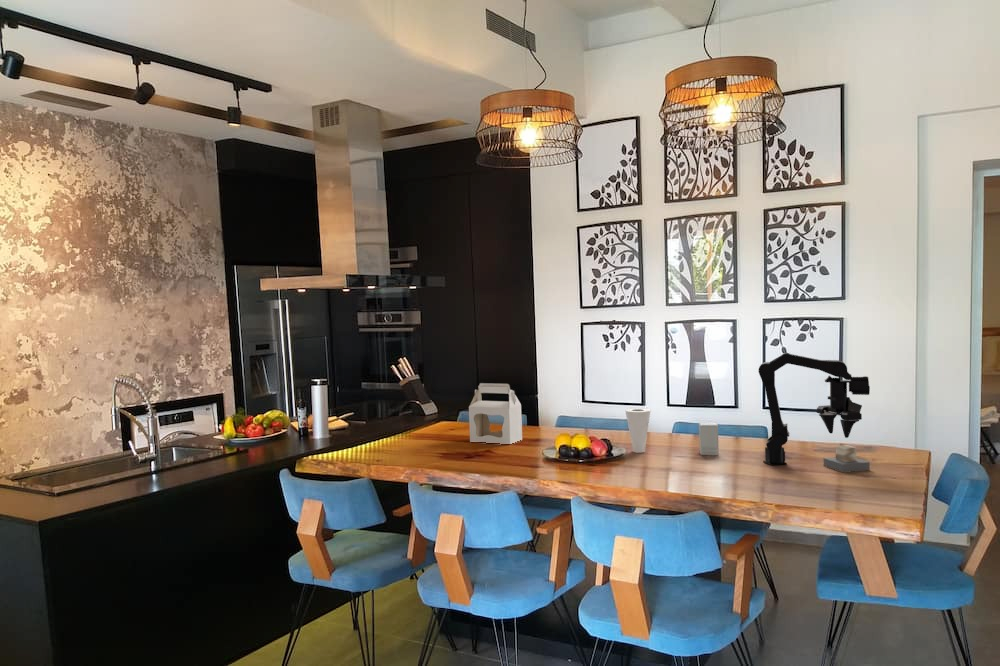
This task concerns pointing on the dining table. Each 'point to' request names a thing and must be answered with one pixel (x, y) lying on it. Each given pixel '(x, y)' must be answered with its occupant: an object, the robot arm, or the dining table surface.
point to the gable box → (504, 408)
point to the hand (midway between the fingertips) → (838, 435)
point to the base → (846, 465)
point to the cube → (846, 453)
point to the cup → (638, 427)
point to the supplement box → (708, 439)
